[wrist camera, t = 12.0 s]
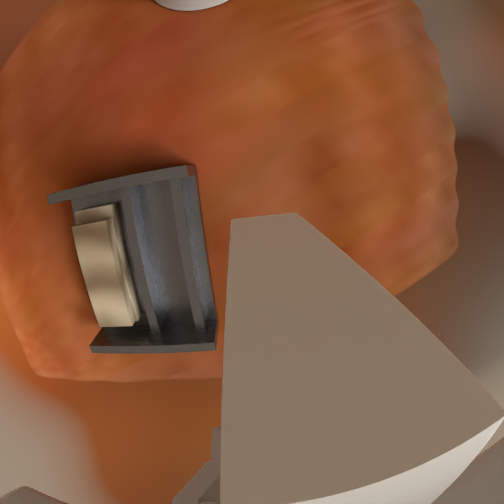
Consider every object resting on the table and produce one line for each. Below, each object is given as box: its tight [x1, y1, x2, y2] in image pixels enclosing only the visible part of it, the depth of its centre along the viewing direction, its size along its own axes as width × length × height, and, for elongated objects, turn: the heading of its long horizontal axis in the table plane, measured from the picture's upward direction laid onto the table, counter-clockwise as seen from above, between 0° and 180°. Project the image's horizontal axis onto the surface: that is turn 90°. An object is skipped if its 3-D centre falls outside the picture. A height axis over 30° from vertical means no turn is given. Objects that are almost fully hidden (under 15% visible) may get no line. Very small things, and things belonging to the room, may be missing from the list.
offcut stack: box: [72, 202, 142, 327], centre depth 33 cm, size 16×6×4 cm, turn 6°
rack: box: [47, 165, 218, 353], centre depth 34 cm, size 22×18×7 cm
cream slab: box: [220, 213, 504, 504], centre depth 9 cm, size 14×3×12 cm, turn 6°
